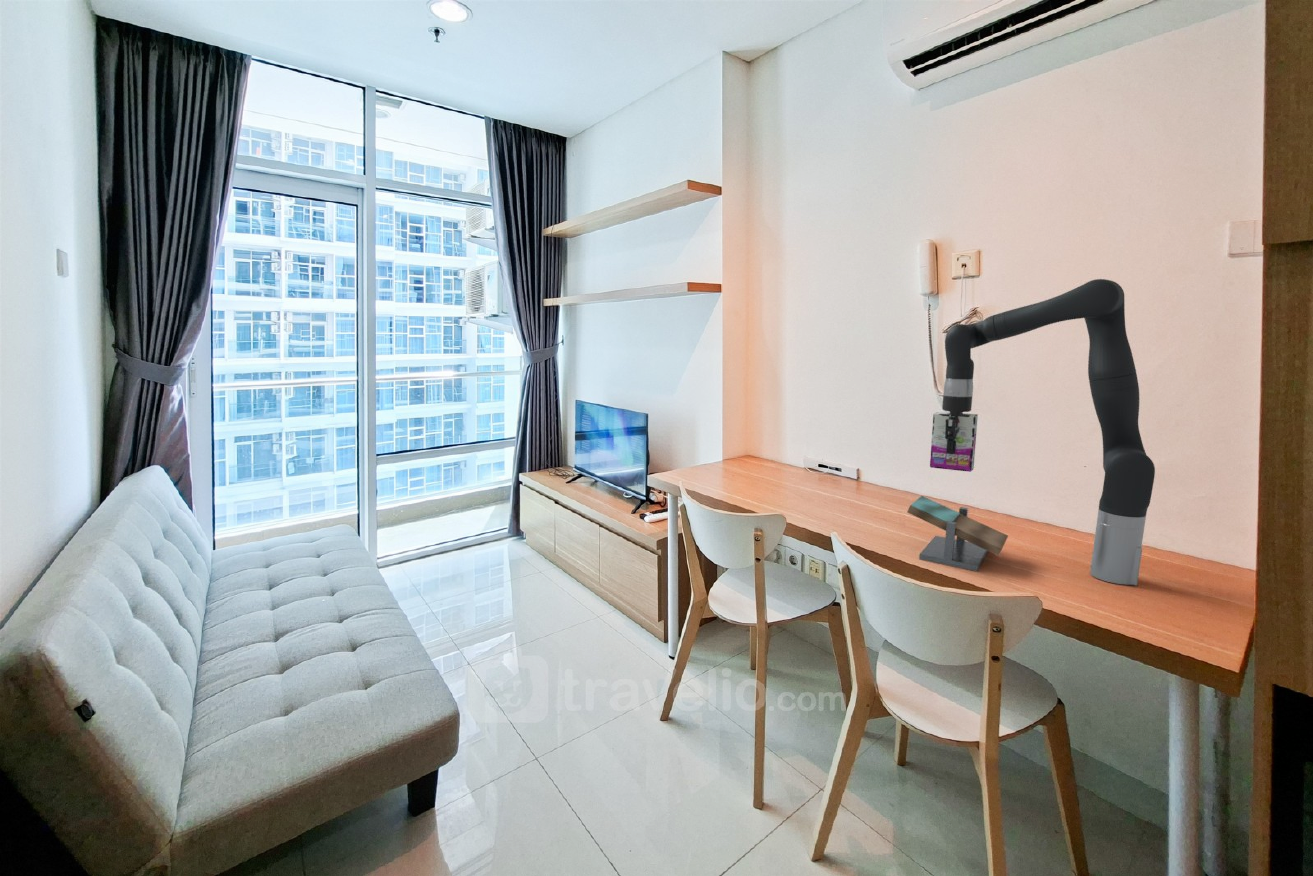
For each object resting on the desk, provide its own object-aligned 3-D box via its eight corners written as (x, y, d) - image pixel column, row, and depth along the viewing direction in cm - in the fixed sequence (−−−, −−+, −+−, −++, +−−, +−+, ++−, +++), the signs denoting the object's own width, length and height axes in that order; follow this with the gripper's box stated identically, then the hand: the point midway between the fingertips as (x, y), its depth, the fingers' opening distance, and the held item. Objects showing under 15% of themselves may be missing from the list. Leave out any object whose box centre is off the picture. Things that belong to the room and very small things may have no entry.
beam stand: (988, 550, 163) (992, 511, 161) (976, 571, 147) (981, 528, 145) (935, 540, 171) (938, 503, 169) (919, 559, 155) (922, 518, 154)
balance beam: (1005, 541, 158) (1009, 534, 157) (998, 556, 146) (1002, 549, 145) (919, 501, 170) (922, 495, 169) (906, 512, 158) (909, 505, 158)
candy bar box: (973, 469, 166) (978, 413, 164) (971, 472, 162) (976, 415, 160) (932, 464, 173) (936, 411, 170) (928, 467, 169) (933, 412, 166)
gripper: (967, 396, 156) (961, 457, 159) (977, 393, 167) (971, 450, 170) (937, 395, 161) (932, 454, 163) (949, 392, 172) (944, 447, 174)
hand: (952, 452), depth 167 cm, fingers closed on candy bar box, 5 cm apart
